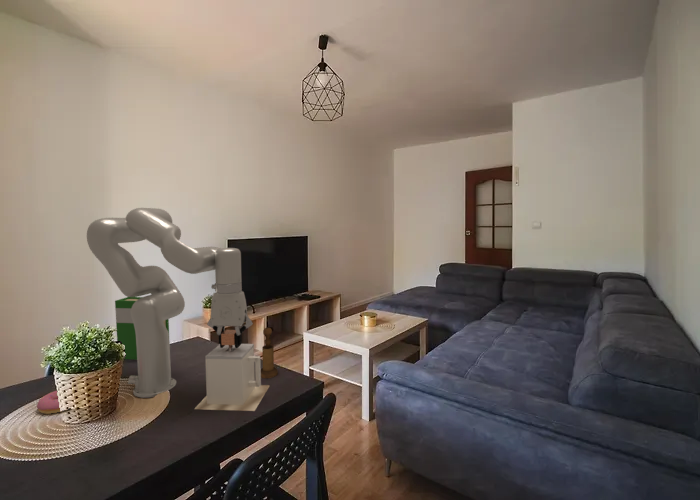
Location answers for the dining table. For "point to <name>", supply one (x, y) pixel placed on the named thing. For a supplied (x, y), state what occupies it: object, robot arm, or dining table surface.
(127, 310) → the hardback book
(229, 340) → the brown square-faced block
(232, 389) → the press pot
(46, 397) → the doughnut
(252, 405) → the birch board
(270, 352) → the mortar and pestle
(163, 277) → the robot arm
